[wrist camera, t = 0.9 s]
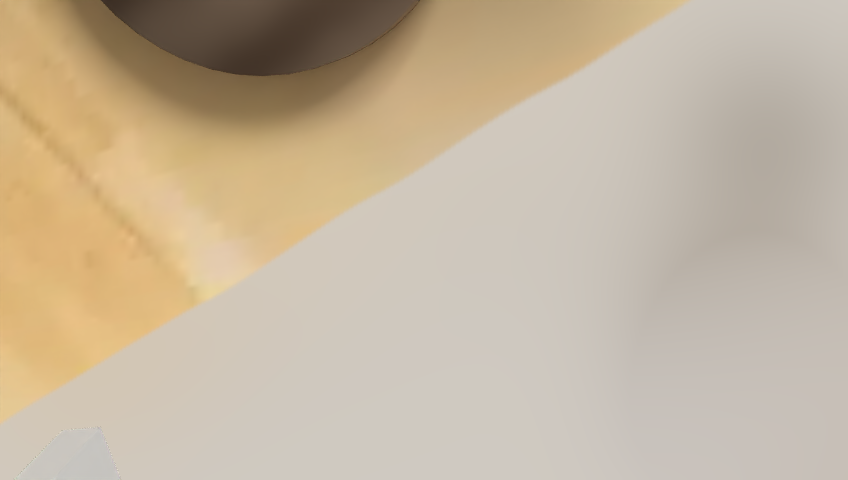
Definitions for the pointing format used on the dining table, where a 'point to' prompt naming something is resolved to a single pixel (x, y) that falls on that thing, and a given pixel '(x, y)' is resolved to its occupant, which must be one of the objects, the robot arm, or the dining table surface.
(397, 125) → the dining table surface
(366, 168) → the dining table surface
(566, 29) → the dining table surface
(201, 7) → the turntable
